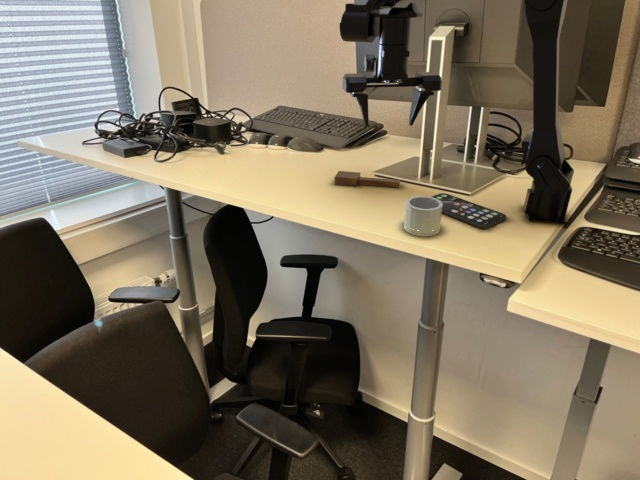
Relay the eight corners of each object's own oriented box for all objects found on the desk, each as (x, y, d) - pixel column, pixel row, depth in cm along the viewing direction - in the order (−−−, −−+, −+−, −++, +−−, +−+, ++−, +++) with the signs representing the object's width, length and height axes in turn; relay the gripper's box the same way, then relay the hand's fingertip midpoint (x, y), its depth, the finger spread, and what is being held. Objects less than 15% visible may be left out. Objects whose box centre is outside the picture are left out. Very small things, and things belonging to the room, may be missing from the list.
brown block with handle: (400, 183, 103) (400, 175, 102) (398, 189, 100) (399, 181, 99) (338, 178, 106) (338, 170, 105) (334, 184, 103) (334, 176, 102)
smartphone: (443, 192, 96) (508, 215, 86) (442, 195, 97) (507, 218, 86) (419, 201, 92) (484, 226, 82) (418, 204, 93) (484, 229, 82)
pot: (440, 222, 85) (443, 197, 83) (439, 238, 80) (442, 211, 78) (405, 219, 87) (408, 194, 84) (402, 234, 81) (404, 208, 79)
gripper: (429, 39, 96) (422, 115, 103) (339, 40, 95) (338, 118, 102) (447, 44, 86) (437, 128, 94) (347, 46, 85) (345, 131, 92)
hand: (388, 126), depth 96 cm, fingers open, 9 cm apart
